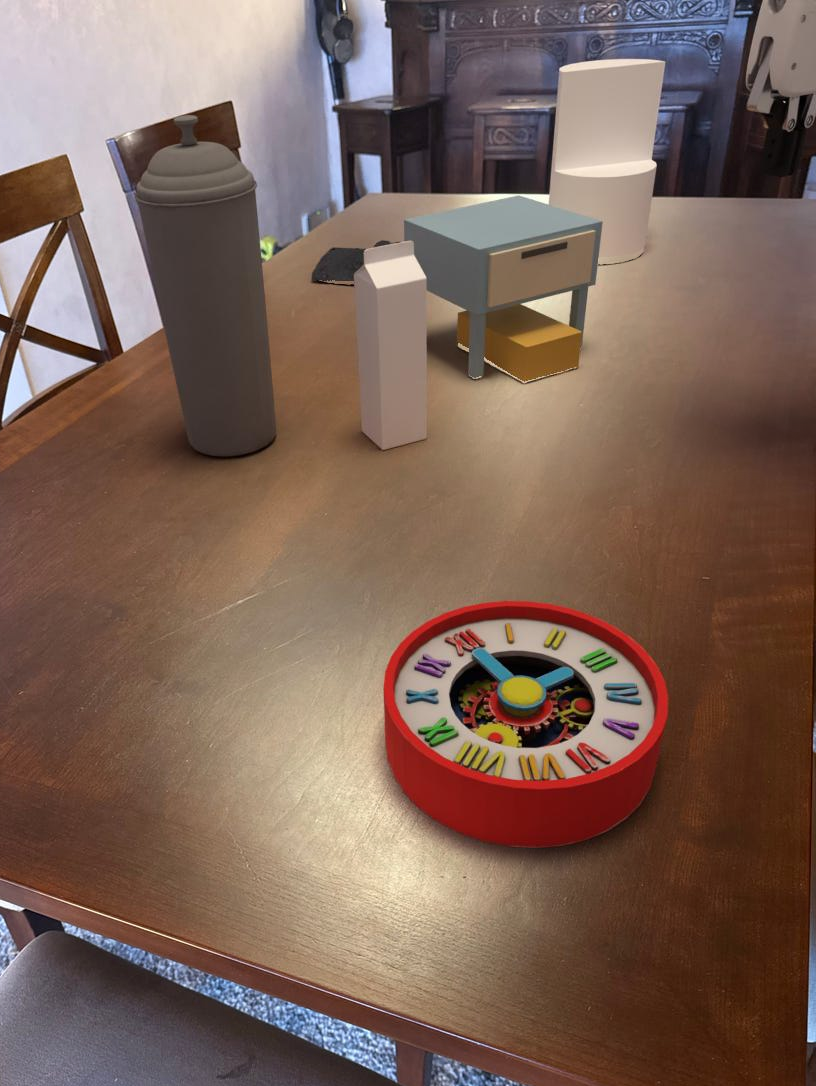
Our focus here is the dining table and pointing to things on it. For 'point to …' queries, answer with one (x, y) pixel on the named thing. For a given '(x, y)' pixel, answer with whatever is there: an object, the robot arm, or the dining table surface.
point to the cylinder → (607, 147)
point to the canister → (210, 291)
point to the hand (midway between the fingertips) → (777, 173)
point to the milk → (392, 345)
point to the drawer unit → (505, 259)
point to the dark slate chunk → (341, 263)
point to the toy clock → (523, 722)
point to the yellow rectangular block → (525, 342)
